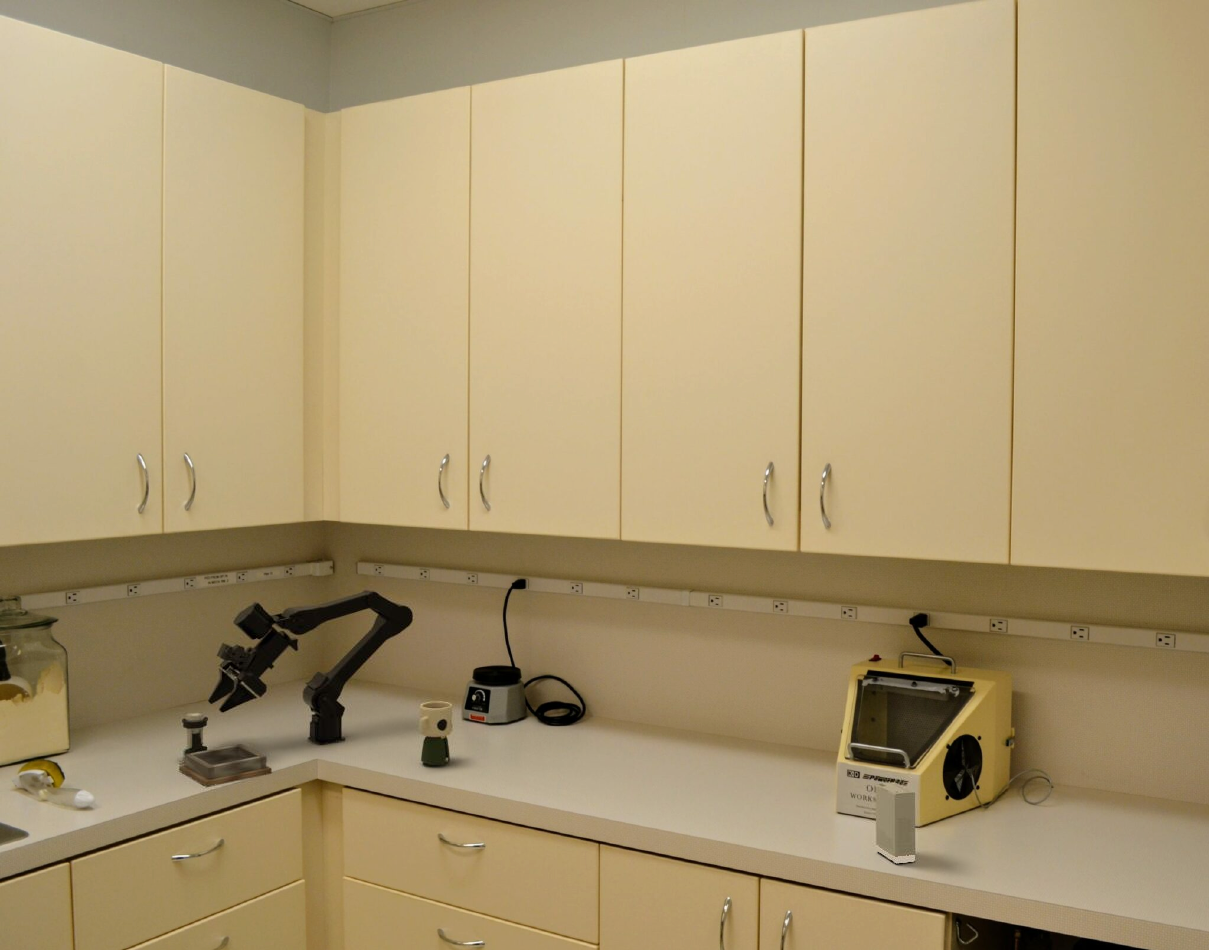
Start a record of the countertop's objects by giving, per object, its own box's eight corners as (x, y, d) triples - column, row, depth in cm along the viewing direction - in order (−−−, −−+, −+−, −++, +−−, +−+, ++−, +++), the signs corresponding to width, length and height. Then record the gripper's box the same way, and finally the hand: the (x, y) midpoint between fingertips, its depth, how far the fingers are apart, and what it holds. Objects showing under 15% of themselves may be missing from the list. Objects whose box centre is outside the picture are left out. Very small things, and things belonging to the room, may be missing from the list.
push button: (187, 766, 222) (188, 720, 221) (171, 762, 224) (171, 716, 224) (213, 758, 228) (213, 713, 227) (196, 754, 230) (196, 710, 230)
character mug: (434, 772, 220) (435, 712, 220) (407, 767, 223) (407, 708, 223) (462, 759, 230) (463, 701, 230) (436, 755, 233) (437, 697, 233)
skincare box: (916, 862, 175) (918, 792, 175) (894, 865, 173) (896, 794, 173) (894, 849, 181) (896, 781, 180) (873, 852, 179) (874, 783, 179)
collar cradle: (242, 758, 228) (242, 742, 228) (271, 772, 218) (271, 756, 218) (179, 770, 218) (179, 754, 218) (206, 786, 208) (206, 769, 208)
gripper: (229, 624, 239) (178, 676, 233) (252, 636, 224) (199, 692, 217) (262, 654, 243) (213, 706, 237) (288, 668, 228) (236, 724, 222)
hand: (214, 707), depth 228 cm, fingers open, 9 cm apart
